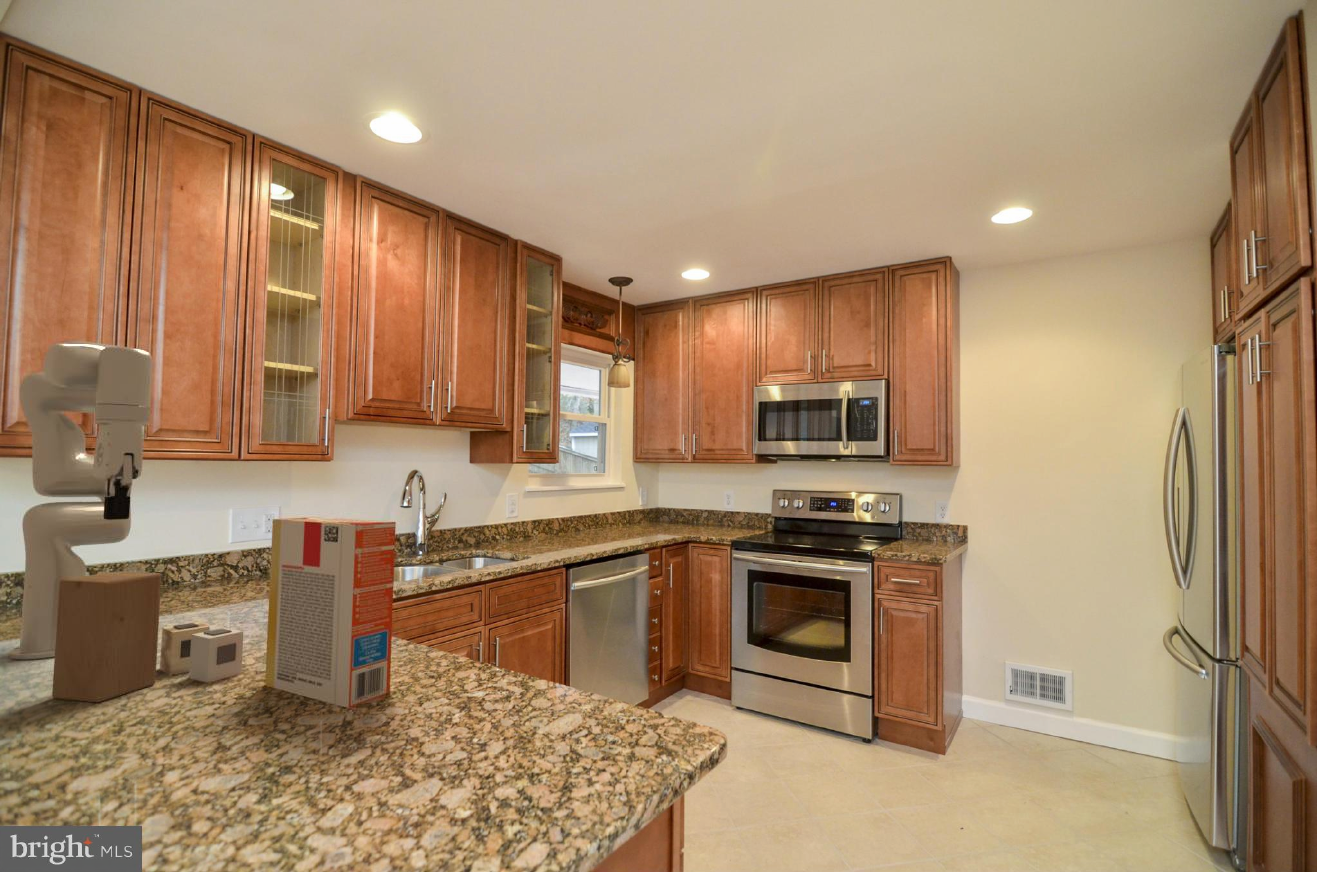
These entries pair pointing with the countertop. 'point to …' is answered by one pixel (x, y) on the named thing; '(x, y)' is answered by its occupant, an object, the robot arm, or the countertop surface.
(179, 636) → the marked beech block
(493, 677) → the countertop surface
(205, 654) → the marked grey block
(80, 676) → the wooden block
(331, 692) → the pasta box
